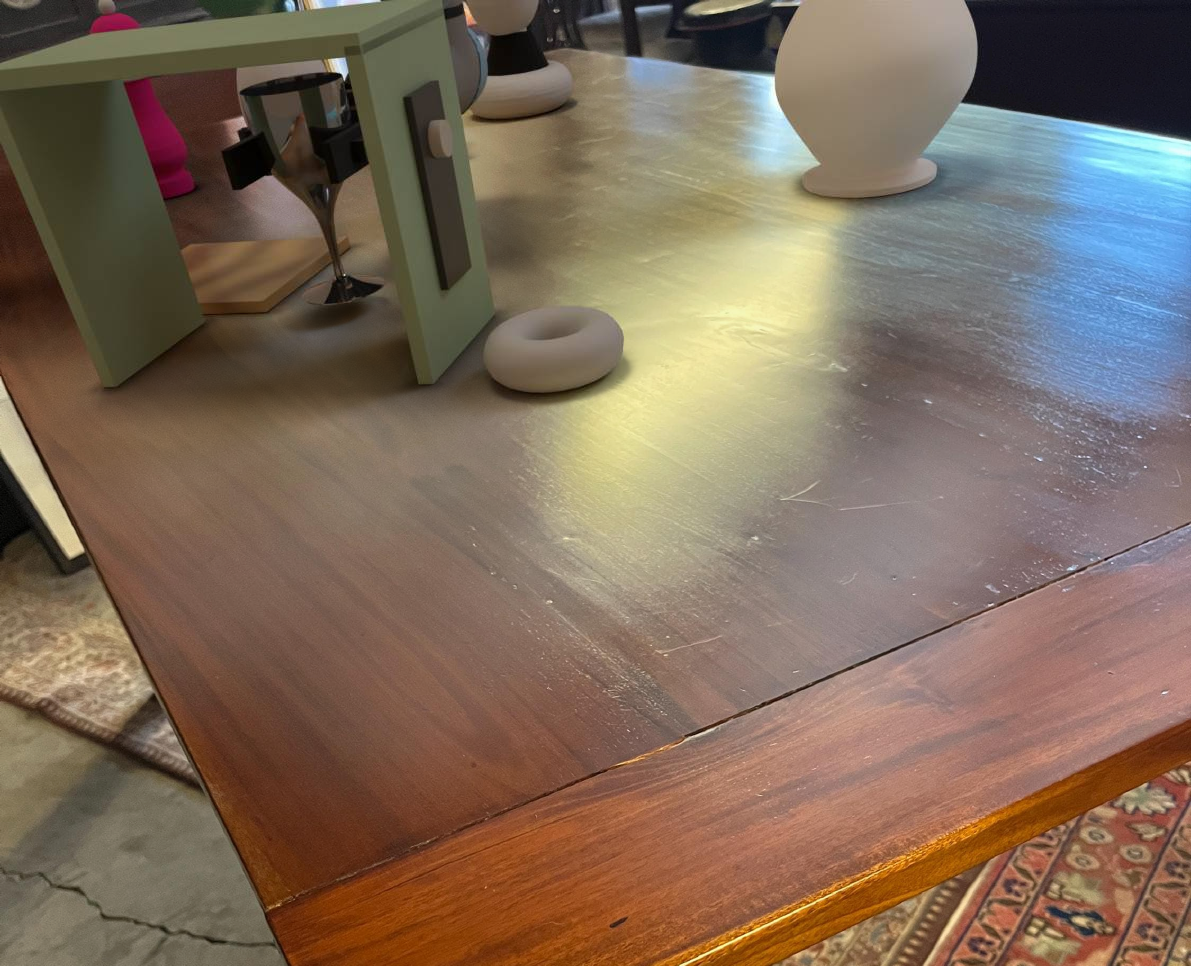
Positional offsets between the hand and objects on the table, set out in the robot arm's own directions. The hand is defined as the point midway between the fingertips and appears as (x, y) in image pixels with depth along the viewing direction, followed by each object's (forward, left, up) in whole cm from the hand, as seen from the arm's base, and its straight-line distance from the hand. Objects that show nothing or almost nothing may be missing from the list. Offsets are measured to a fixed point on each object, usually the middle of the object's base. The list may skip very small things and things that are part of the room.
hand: (280, 167), depth 83 cm
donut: (+23, -9, -12) cm, 28 cm away
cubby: (0, -4, -12) cm, 13 cm away
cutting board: (-17, +14, -12) cm, 25 cm away
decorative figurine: (-9, +82, -12) cm, 83 cm away
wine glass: (0, +5, -11) cm, 12 cm away
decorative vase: (+41, +37, -12) cm, 56 cm away
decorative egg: (-35, +66, -12) cm, 75 cm away
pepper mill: (-45, +49, -12) cm, 67 cm away
